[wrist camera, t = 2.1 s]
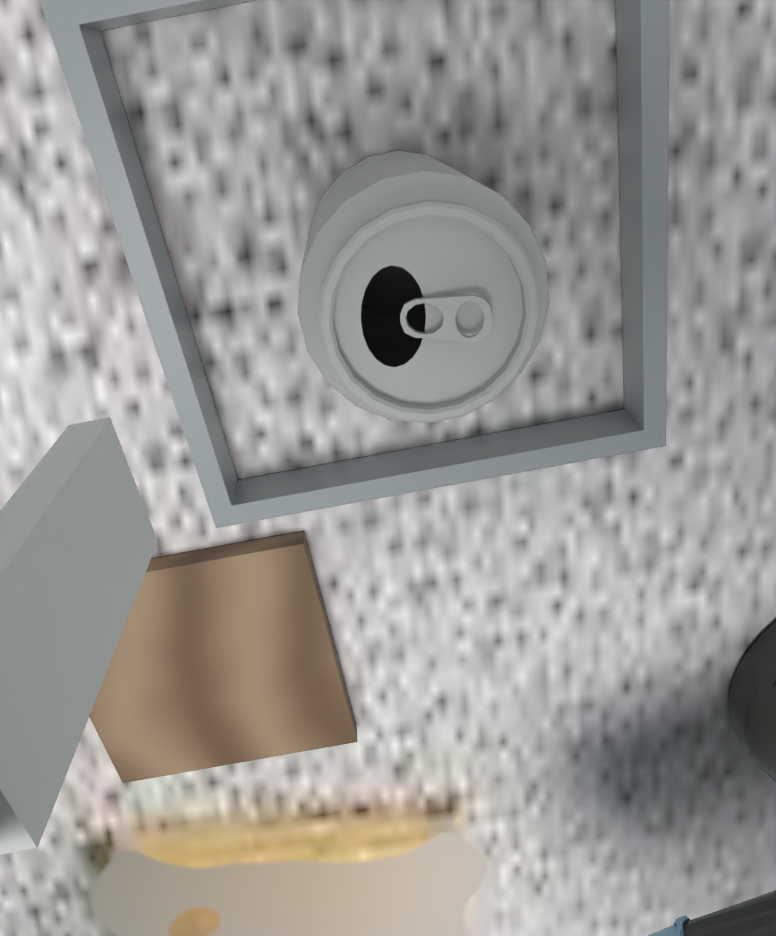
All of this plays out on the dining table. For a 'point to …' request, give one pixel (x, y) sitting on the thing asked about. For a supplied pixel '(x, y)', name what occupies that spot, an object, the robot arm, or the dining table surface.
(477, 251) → the can
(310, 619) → the pad
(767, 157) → the dining table surface
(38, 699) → the robot arm
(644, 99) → the gray square frame
